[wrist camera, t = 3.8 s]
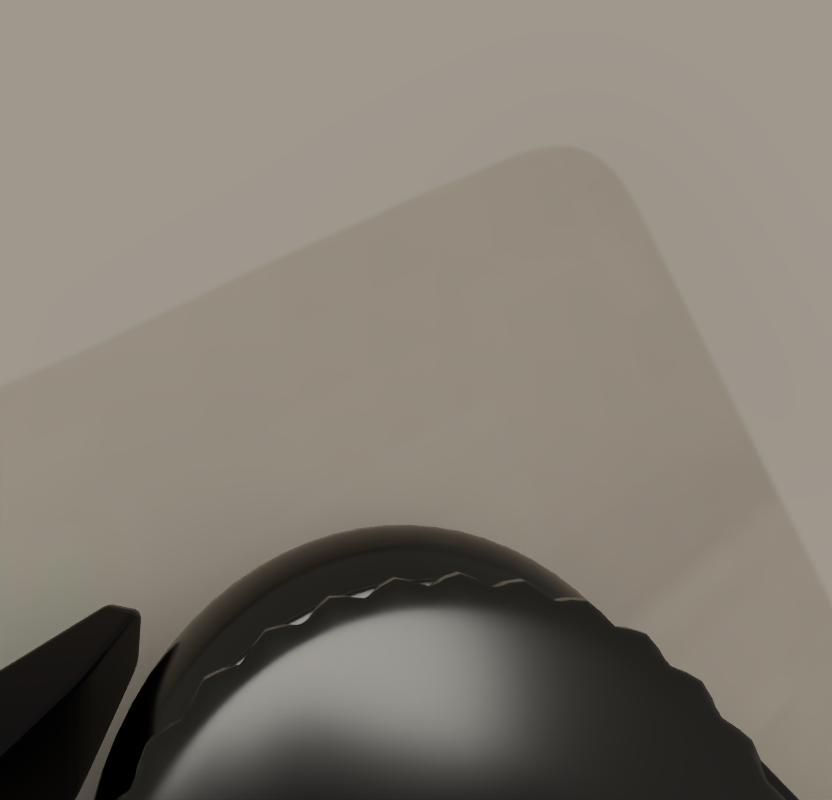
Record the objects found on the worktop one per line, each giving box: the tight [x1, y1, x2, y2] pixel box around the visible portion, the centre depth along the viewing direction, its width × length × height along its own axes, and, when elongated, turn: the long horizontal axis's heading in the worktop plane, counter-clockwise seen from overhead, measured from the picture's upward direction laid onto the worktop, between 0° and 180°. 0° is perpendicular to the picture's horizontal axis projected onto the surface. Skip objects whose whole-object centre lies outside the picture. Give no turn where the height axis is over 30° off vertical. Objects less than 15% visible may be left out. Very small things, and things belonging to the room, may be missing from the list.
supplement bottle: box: [94, 525, 786, 800], centre depth 9 cm, size 7×7×12 cm
